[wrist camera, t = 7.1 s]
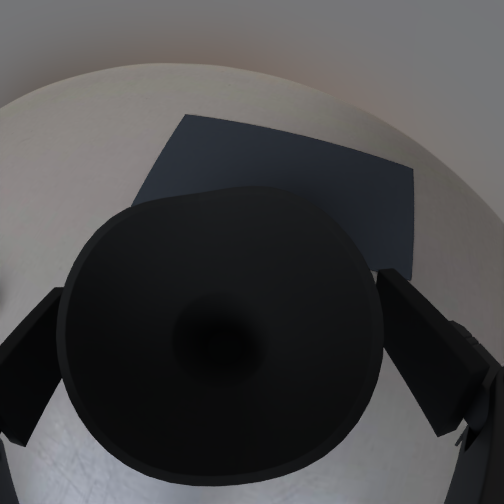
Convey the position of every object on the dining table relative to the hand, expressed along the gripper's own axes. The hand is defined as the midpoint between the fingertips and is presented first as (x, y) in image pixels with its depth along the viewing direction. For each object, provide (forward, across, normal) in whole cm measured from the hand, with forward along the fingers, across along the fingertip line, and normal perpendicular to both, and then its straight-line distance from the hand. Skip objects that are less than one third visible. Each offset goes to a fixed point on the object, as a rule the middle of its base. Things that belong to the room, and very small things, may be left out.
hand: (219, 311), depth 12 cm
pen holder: (+3, 0, -5) cm, 6 cm away
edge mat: (+12, +4, +3) cm, 13 cm away
